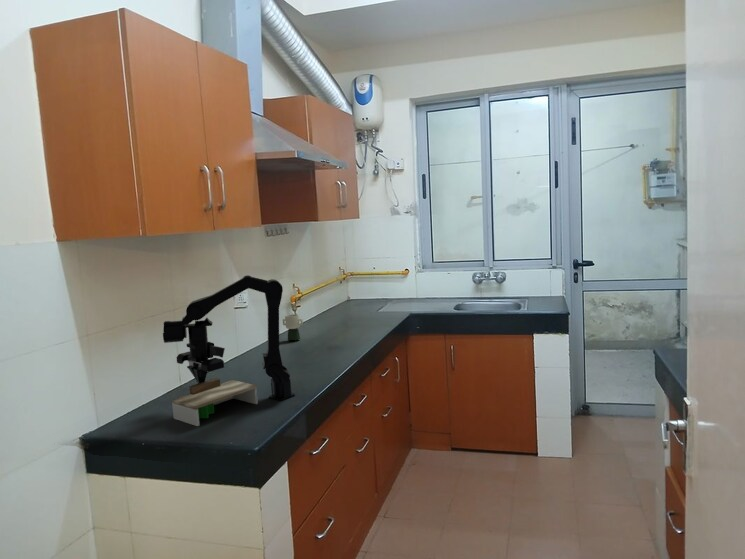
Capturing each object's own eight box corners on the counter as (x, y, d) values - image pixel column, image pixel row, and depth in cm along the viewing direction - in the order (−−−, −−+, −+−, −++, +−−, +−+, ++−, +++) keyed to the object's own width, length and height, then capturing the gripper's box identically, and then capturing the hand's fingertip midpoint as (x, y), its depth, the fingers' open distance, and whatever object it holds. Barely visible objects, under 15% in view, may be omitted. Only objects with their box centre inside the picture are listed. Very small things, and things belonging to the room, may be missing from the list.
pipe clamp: (203, 422, 161) (202, 408, 161) (193, 422, 162) (191, 408, 161) (218, 409, 171) (216, 396, 171) (208, 410, 172) (206, 397, 171)
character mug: (306, 339, 271) (304, 314, 270) (301, 342, 264) (299, 316, 263) (287, 339, 274) (285, 314, 273) (281, 342, 267) (279, 316, 266)
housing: (257, 403, 175) (256, 388, 174) (197, 426, 157) (195, 409, 157) (233, 397, 183) (232, 383, 182) (173, 418, 165) (172, 402, 165)
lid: (256, 387, 174) (255, 378, 174) (195, 409, 157) (194, 398, 156) (232, 382, 182) (231, 373, 182) (172, 401, 165) (171, 391, 164)
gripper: (236, 338, 172) (239, 385, 174) (203, 331, 184) (206, 375, 186) (206, 345, 164) (210, 394, 166) (174, 338, 175) (177, 383, 177)
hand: (201, 386), depth 174 cm, fingers closed
